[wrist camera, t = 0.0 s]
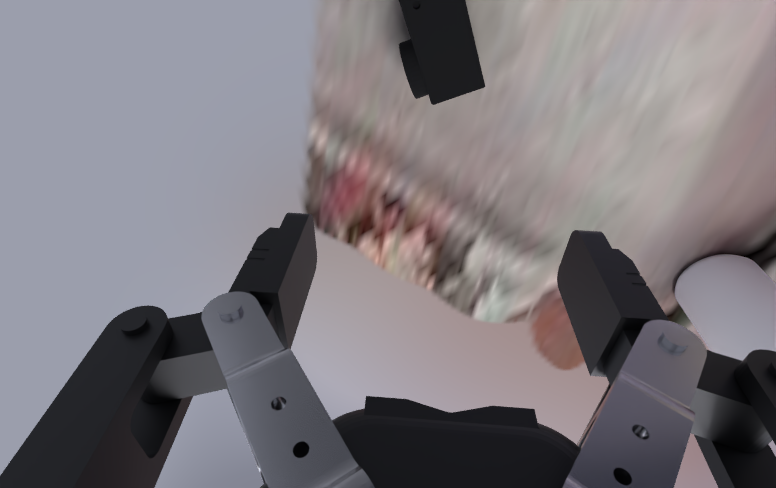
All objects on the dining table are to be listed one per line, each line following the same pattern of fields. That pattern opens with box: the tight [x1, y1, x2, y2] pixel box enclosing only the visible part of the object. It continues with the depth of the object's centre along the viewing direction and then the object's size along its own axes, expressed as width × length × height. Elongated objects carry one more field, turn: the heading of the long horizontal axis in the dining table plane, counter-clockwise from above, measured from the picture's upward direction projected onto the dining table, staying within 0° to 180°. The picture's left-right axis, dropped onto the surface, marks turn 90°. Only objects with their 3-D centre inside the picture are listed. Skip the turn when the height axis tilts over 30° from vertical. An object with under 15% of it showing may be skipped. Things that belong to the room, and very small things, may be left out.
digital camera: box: [399, 0, 485, 105], centre depth 32 cm, size 10×5×7 cm, turn 21°
